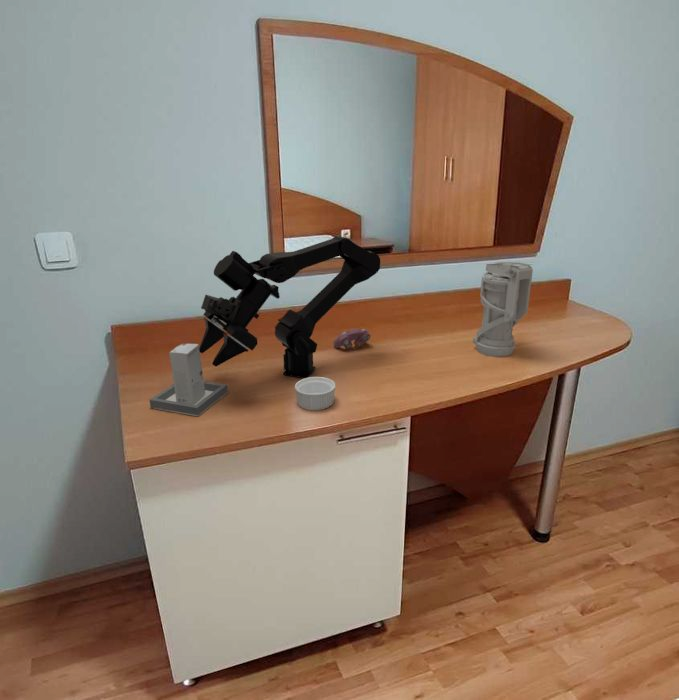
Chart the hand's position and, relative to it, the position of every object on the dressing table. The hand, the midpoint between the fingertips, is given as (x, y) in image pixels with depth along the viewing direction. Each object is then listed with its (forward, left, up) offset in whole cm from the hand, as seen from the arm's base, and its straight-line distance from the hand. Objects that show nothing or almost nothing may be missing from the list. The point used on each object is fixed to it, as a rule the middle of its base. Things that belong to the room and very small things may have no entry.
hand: (206, 358), depth 114 cm
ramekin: (-24, -4, -9) cm, 26 cm away
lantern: (-60, -48, -9) cm, 78 cm away
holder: (+3, +4, -9) cm, 10 cm away
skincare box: (+3, +3, -9) cm, 10 cm away
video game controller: (-21, -39, -9) cm, 45 cm away
